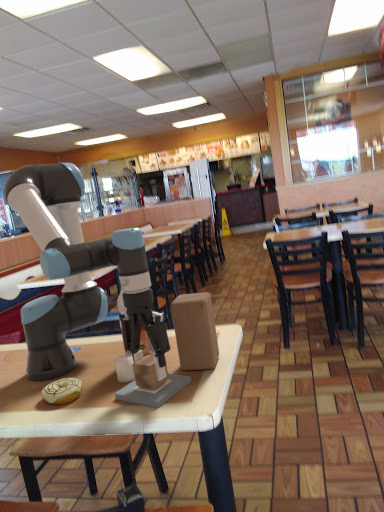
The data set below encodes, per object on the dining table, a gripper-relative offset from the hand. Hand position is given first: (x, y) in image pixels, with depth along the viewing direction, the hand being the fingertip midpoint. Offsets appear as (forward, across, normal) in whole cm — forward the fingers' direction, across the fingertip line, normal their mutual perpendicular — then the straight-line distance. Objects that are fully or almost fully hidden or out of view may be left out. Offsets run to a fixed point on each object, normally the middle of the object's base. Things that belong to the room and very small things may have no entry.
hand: (151, 376), depth 108 cm
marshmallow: (+4, -13, +4) cm, 14 cm away
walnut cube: (+1, 0, 0) cm, 1 cm away
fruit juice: (+4, -17, +15) cm, 23 cm away
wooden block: (+4, +3, +18) cm, 19 cm away
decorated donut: (+4, -23, -10) cm, 26 cm away
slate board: (+4, 0, 0) cm, 4 cm away
